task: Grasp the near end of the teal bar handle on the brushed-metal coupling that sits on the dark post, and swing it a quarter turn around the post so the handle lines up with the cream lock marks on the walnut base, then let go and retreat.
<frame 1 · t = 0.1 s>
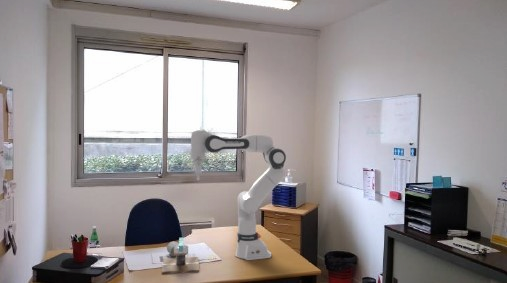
hand: (197, 179, 222), 48 cm above the table, fingers open, 8 cm apart
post: (180, 266, 210), on the table
ceramic mug: (176, 255, 228), on the table
coupling: (181, 247, 209), point 11 cm above the table, hinge at 0.0°
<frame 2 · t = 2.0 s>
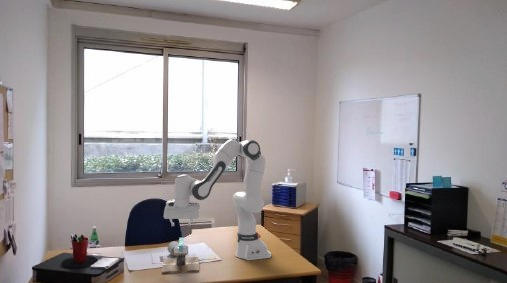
hand: (181, 226, 215), 21 cm above the table, fingers open, 8 cm apart
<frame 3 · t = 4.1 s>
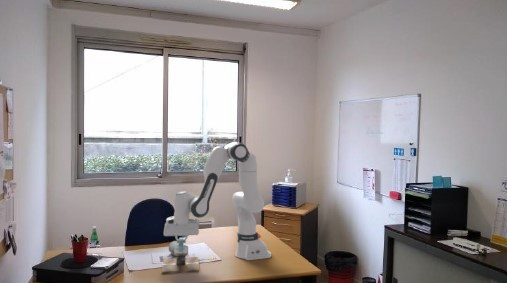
hand: (181, 242, 215), 12 cm above the table, fingers closed on coupling, 2 cm apart
coupling: (181, 247, 209), point 11 cm above the table, hinge at 0.0°, touching gripper
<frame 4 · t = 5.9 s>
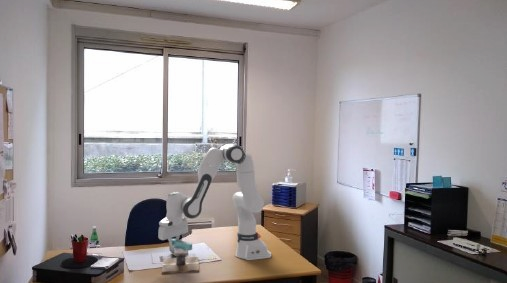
hand: (173, 243, 213), 12 cm above the table, fingers closed on coupling, 2 cm apart
coupling: (181, 247, 209), point 11 cm above the table, hinge at 44.8°, touching gripper
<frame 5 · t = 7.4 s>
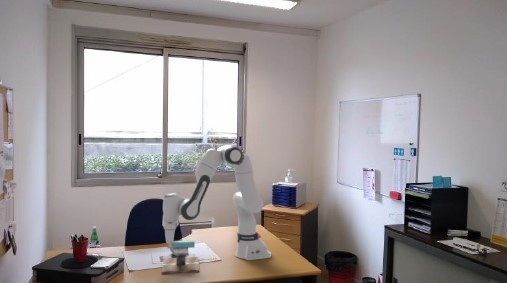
hand: (170, 246, 208), 12 cm above the table, fingers closed on coupling, 2 cm apart
coupling: (181, 247, 209), point 11 cm above the table, hinge at 88.9°, touching gripper
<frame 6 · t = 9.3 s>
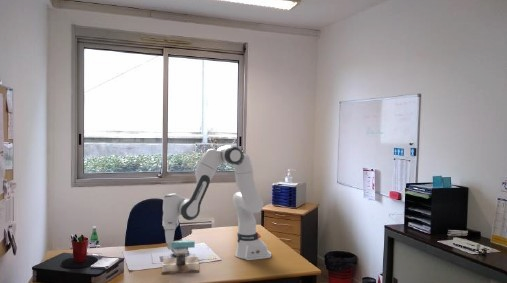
hand: (170, 246, 208), 12 cm above the table, fingers open, 8 cm apart
coupling: (181, 247, 209), point 11 cm above the table, hinge at 89.6°
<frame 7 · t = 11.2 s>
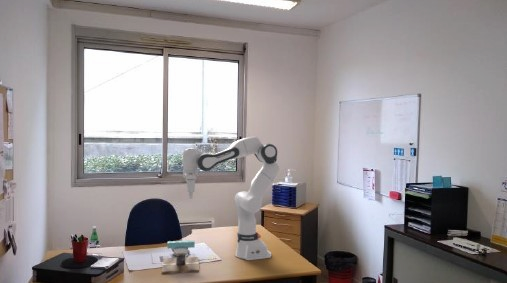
hand: (190, 196, 226), 36 cm above the table, fingers open, 8 cm apart
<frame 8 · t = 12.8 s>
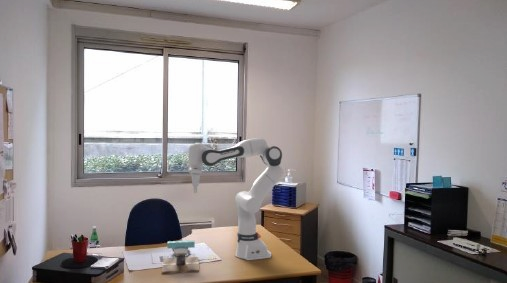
hand: (195, 191, 230), 39 cm above the table, fingers open, 8 cm apart
at the end: coupling at +90° (first picture: +0°); the gripper is holding nothing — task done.
